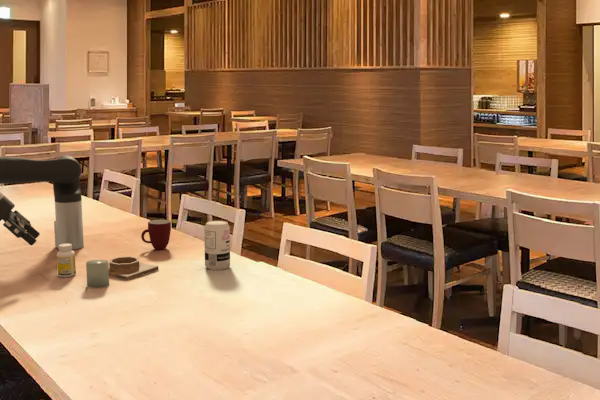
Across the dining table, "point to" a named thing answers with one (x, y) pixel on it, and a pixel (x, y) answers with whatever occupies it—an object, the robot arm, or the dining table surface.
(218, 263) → the supplement can
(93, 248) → the dining table surface
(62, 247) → the supplement bottle
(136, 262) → the caddy
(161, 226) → the mug
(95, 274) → the sage green domed cylinder
